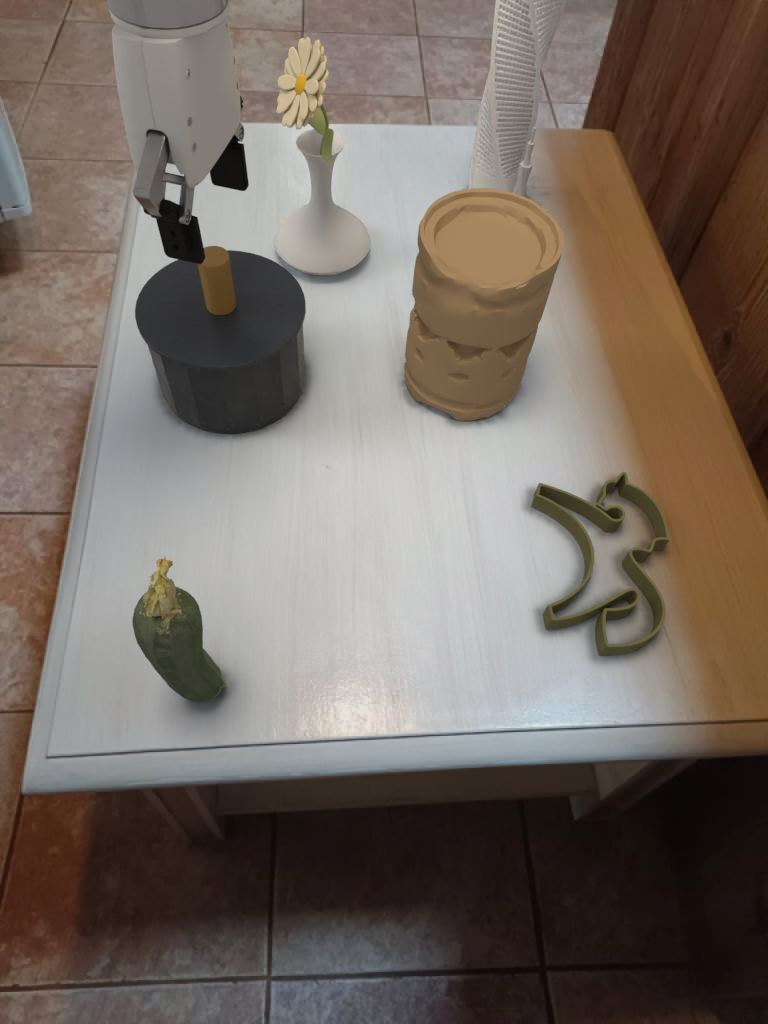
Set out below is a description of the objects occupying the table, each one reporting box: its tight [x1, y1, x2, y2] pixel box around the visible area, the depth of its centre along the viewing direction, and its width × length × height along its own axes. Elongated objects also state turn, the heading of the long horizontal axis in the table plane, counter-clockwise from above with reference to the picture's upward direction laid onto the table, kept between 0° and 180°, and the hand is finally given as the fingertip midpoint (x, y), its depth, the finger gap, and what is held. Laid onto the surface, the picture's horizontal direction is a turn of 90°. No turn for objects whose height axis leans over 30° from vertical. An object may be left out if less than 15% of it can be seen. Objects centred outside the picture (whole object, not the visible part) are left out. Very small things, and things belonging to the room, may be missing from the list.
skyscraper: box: [468, 0, 567, 197], centre depth 82 cm, size 8×8×28 cm
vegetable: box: [131, 556, 227, 704], centre depth 50 cm, size 4×4×20 cm
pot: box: [147, 325, 306, 435], centre depth 72 cm, size 15×15×10 cm
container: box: [404, 188, 565, 422], centre depth 70 cm, size 13×13×18 cm
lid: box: [134, 245, 307, 371], centre depth 65 cm, size 16×16×7 cm
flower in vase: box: [273, 36, 371, 276], centre depth 76 cm, size 13×11×25 cm
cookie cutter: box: [530, 471, 670, 657], centre depth 65 cm, size 18×12×2 cm, turn 178°
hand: (209, 220), depth 60 cm, fingers open, 9 cm apart
